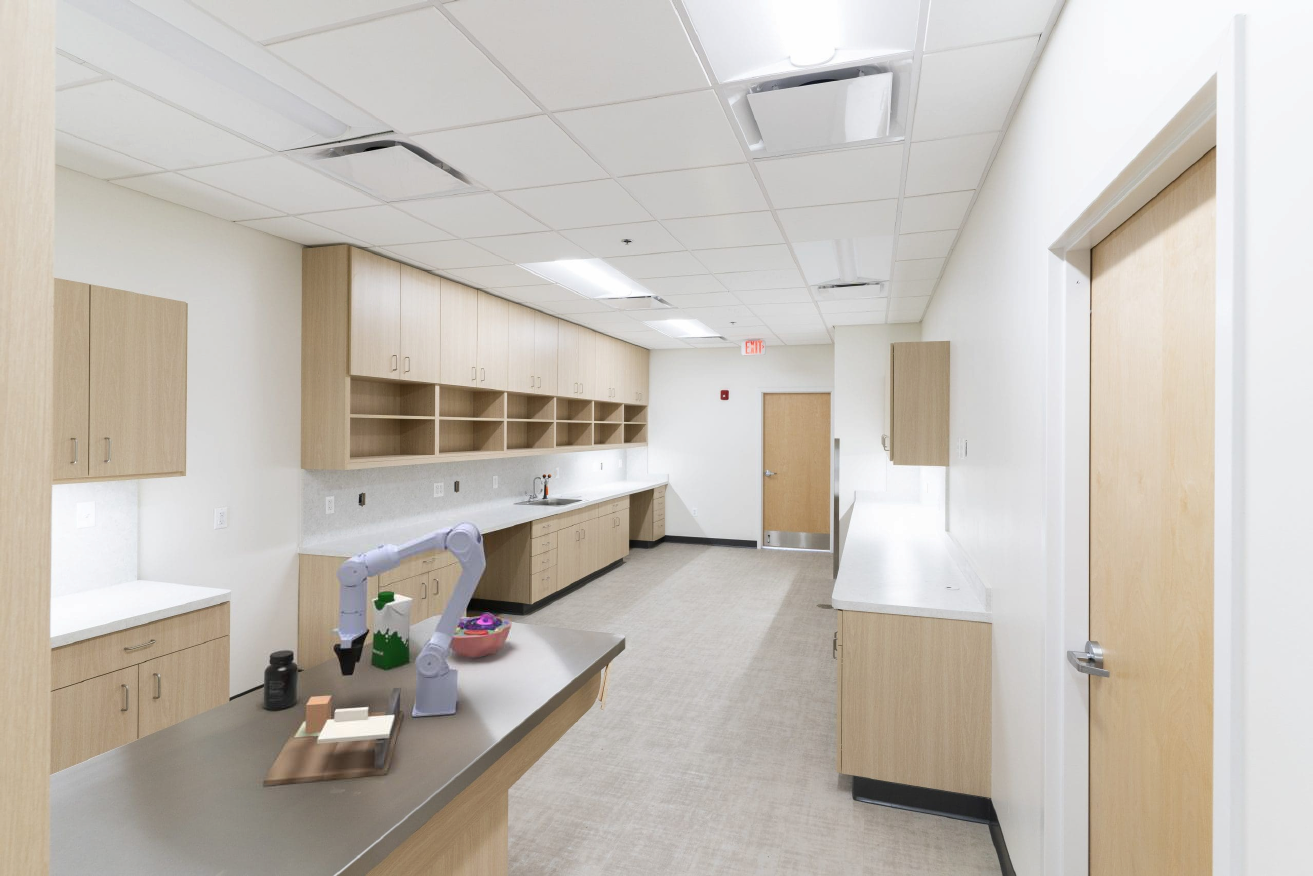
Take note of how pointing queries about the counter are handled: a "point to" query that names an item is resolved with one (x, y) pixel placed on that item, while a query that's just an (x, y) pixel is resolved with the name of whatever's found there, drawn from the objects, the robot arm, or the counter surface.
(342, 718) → the cover
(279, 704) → the supplement bottle
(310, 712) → the block
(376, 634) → the milk carton
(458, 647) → the cell model
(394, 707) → the board
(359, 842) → the counter surface
